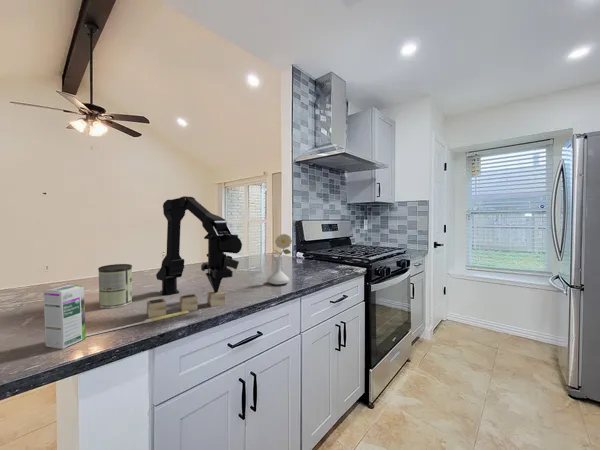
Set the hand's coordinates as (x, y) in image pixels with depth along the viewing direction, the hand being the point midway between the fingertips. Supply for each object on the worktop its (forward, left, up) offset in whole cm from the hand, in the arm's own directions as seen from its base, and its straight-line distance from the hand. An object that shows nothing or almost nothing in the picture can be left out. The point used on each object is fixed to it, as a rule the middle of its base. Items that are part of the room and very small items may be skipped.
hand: (215, 292), depth 101 cm
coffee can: (-20, -31, -5) cm, 37 cm away
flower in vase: (-13, +36, -5) cm, 39 cm away
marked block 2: (0, -10, -4) cm, 11 cm away
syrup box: (+9, -42, -5) cm, 43 cm away
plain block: (0, 0, -4) cm, 4 cm away
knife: (+5, -27, -5) cm, 28 cm away
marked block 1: (0, -20, -4) cm, 21 cm away
